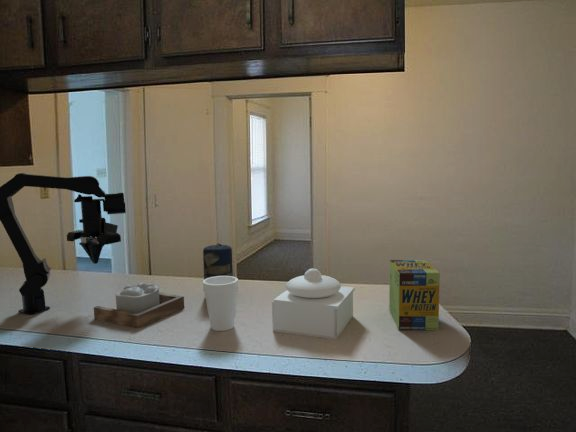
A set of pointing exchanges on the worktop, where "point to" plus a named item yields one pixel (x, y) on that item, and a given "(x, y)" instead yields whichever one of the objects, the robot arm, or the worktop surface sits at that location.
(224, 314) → the foam cup
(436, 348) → the worktop surface
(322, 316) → the white lidded box
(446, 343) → the worktop surface
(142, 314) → the bay
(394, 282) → the protein box
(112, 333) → the worktop surface
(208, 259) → the canister
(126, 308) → the lumpy-topped squat cylinder
